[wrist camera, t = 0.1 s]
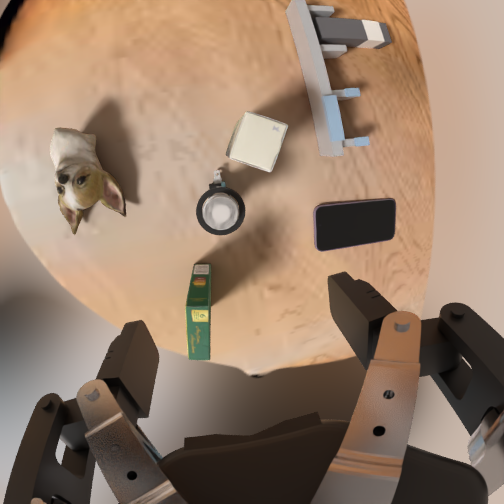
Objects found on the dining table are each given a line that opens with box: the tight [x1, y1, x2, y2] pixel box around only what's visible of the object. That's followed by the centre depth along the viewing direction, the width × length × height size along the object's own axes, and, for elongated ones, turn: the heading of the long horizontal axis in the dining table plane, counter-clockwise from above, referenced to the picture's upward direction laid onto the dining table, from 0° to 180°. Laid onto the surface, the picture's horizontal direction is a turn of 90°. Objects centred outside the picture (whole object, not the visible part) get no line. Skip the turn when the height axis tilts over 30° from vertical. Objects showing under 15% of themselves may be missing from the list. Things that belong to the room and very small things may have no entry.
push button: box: [196, 170, 245, 235], centre depth 34 cm, size 7×5×10 cm
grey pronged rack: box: [285, 0, 370, 157], centre depth 31 cm, size 24×6×6 cm, turn 12°
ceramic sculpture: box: [50, 128, 126, 234], centre depth 31 cm, size 11×9×15 cm
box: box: [226, 111, 288, 172], centre depth 30 cm, size 5×4×13 cm
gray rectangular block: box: [312, 17, 392, 49], centre depth 30 cm, size 12×4×4 cm, turn 102°
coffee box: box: [185, 264, 211, 360], centre depth 37 cm, size 8×3×13 cm, turn 175°
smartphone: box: [313, 199, 396, 252], centre depth 42 cm, size 7×1×15 cm
